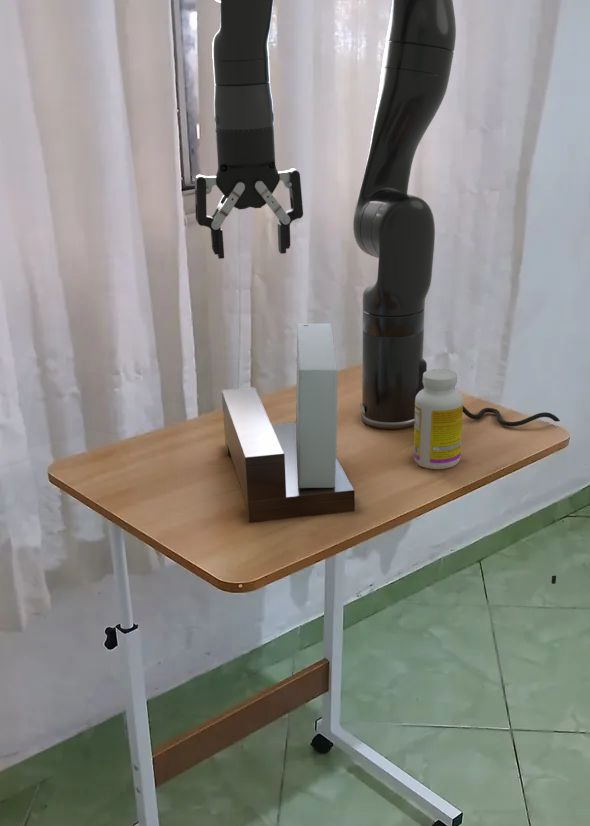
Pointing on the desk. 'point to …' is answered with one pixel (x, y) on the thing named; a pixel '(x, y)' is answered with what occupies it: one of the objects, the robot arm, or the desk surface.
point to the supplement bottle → (438, 421)
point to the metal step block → (274, 464)
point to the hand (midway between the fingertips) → (251, 255)
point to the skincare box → (316, 406)
